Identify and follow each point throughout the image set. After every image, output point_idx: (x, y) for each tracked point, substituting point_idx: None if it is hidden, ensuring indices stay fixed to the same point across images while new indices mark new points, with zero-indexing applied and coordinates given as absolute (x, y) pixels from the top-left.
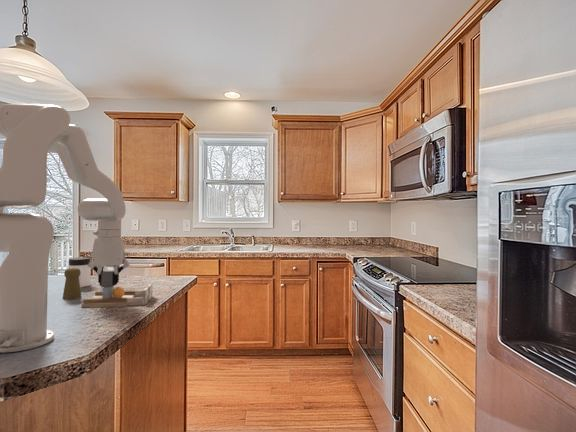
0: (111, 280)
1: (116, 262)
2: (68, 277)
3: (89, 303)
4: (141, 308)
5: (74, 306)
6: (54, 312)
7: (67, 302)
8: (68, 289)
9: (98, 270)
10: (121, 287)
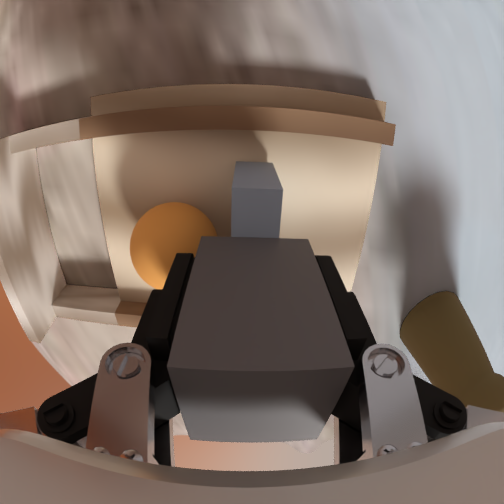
0: (198, 275)
1: (10, 497)
2: (493, 373)
3: (340, 97)
4: (24, 60)
5: (416, 140)
6: (463, 48)
7: (450, 238)
8: (466, 325)
9: (403, 391)
10: (145, 276)
